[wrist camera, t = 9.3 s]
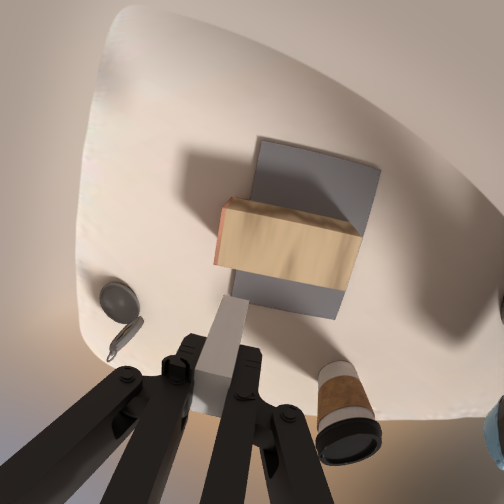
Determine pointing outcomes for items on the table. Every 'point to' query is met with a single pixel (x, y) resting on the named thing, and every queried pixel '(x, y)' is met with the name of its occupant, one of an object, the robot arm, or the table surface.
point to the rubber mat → (311, 201)
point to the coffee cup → (344, 417)
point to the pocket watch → (121, 313)
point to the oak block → (286, 244)
